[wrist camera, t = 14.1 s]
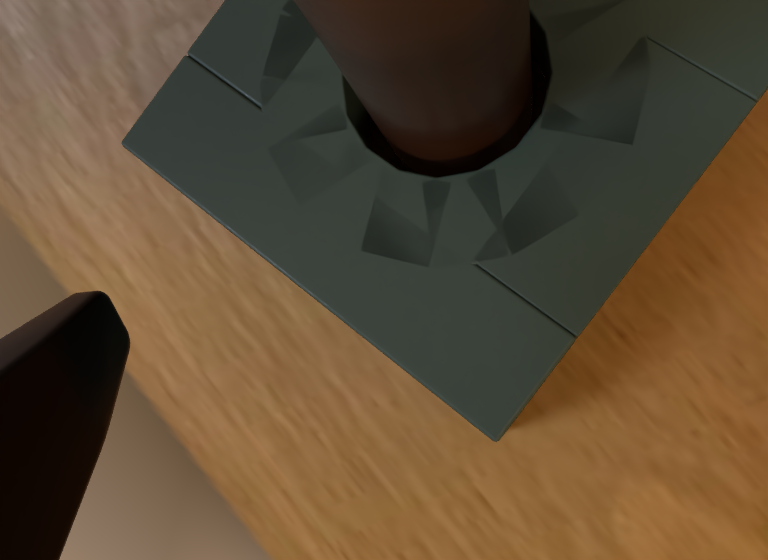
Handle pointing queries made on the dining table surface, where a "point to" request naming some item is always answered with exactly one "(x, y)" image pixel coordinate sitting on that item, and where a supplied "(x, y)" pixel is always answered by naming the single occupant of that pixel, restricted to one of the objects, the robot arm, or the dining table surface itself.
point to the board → (460, 180)
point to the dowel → (435, 74)
